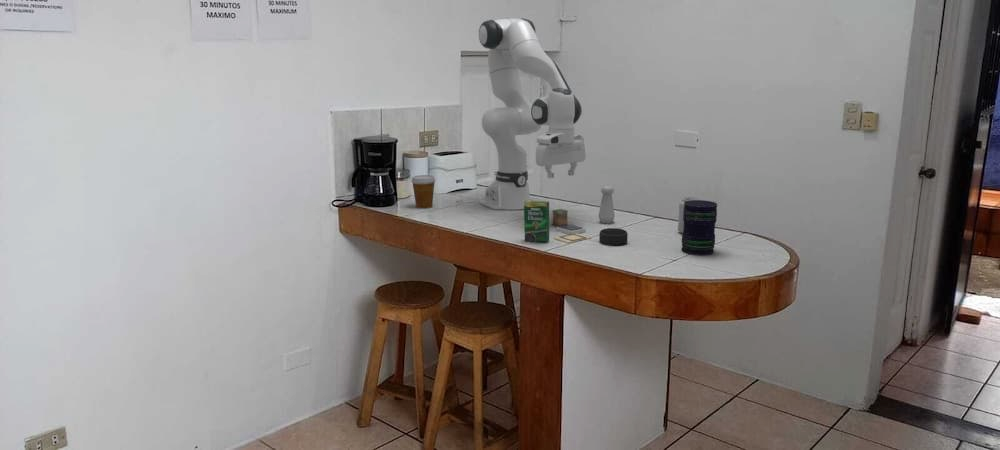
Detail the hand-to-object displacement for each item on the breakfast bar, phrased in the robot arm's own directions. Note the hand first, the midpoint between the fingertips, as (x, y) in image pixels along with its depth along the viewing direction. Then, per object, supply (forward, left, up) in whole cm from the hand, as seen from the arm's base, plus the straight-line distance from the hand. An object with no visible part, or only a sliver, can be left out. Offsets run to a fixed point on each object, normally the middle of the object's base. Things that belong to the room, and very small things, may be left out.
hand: (560, 176), depth 247 cm
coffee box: (+12, -21, -18) cm, 29 cm away
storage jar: (+51, +11, -18) cm, 55 cm away
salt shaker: (+7, +16, -18) cm, 25 cm away
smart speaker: (+28, -2, -18) cm, 33 cm away
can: (+35, +27, -18) cm, 47 cm away
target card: (+16, -9, -17) cm, 25 cm away
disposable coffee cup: (-56, -22, -18) cm, 63 cm away
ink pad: (+9, -3, -17) cm, 20 cm away
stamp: (0, 0, -17) cm, 17 cm away
